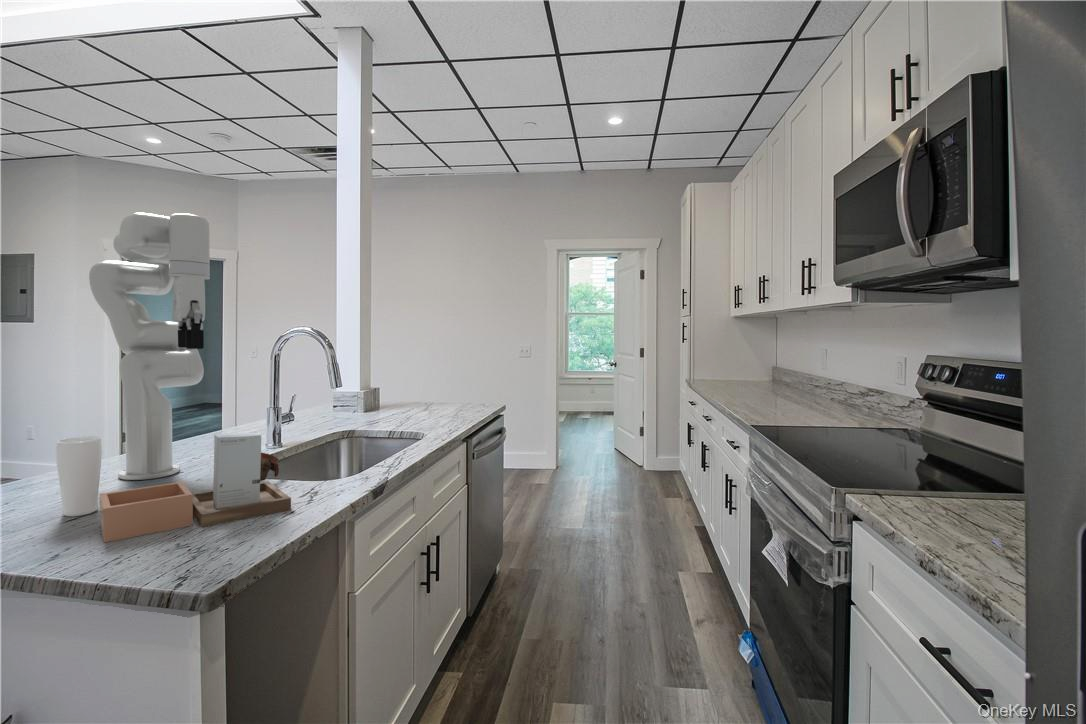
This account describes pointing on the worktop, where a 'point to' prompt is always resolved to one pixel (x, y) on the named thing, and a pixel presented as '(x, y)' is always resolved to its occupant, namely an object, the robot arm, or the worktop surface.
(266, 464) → the brown irregular lump
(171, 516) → the open rectangular tray
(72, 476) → the drinking glass
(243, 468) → the skincare box
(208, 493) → the walnut tray
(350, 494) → the worktop surface
